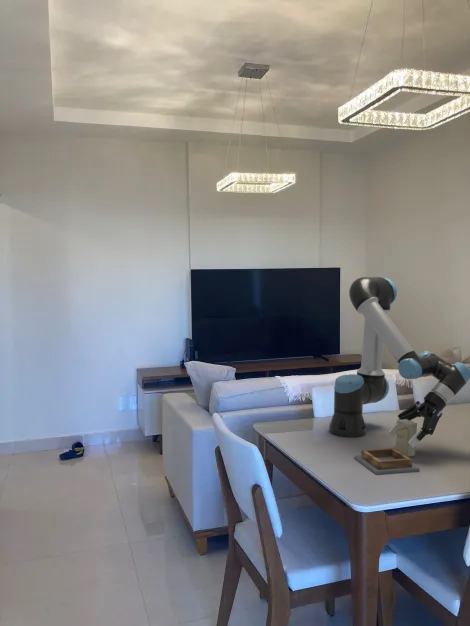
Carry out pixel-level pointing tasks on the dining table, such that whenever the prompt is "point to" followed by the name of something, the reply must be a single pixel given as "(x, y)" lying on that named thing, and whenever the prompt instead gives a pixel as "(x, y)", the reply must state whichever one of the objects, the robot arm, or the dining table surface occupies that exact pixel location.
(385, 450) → the walnut collar
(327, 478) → the dining table surface
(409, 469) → the slate tray
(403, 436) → the skincare box
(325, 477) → the dining table surface
